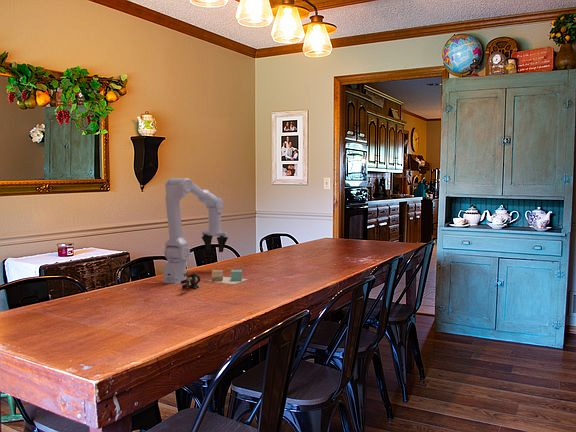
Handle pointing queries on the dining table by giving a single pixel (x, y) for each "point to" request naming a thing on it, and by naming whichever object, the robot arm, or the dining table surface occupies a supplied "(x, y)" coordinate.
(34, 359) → the dining table surface
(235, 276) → the teal block
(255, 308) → the dining table surface
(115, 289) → the dining table surface
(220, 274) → the maple block
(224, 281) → the plate
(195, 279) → the toy
